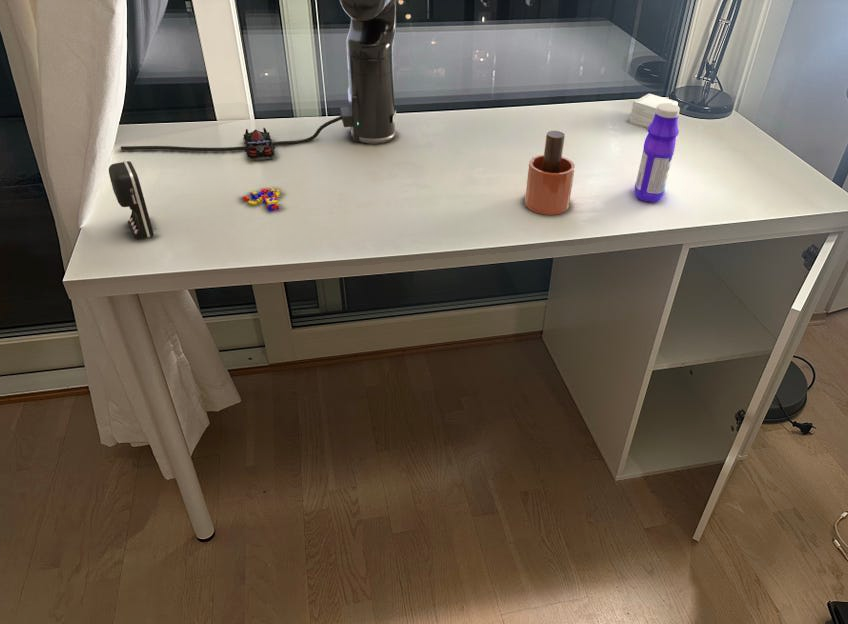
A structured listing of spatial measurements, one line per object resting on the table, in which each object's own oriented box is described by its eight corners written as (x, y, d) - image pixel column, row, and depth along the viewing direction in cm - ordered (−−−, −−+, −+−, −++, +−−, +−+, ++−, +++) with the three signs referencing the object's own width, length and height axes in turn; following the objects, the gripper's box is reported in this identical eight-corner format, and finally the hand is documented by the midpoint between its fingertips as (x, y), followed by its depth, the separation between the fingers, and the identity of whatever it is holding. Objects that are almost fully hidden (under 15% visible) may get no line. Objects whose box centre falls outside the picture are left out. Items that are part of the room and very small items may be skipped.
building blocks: (274, 188, 132) (273, 180, 131) (290, 206, 127) (289, 198, 126) (240, 195, 129) (239, 187, 128) (255, 214, 124) (254, 206, 123)
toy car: (246, 162, 140) (243, 142, 137) (241, 138, 149) (238, 119, 146) (277, 159, 142) (274, 140, 139) (271, 135, 150) (268, 117, 147)
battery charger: (123, 223, 120) (103, 160, 113) (146, 219, 122) (128, 156, 114) (131, 243, 116) (111, 178, 108) (155, 237, 117) (137, 174, 110)
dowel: (541, 206, 130) (550, 138, 122) (535, 197, 133) (544, 131, 124) (557, 204, 131) (567, 137, 123) (551, 196, 133) (561, 129, 125)
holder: (533, 216, 128) (538, 176, 123) (519, 195, 134) (523, 156, 129) (575, 213, 130) (581, 172, 125) (559, 192, 136) (564, 153, 131)
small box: (644, 113, 170) (649, 92, 167) (673, 123, 166) (679, 101, 163) (628, 122, 165) (632, 100, 162) (658, 132, 162) (663, 110, 158)
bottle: (663, 205, 134) (685, 115, 123) (632, 201, 134) (652, 111, 123) (662, 188, 139) (684, 101, 128) (633, 185, 140) (652, 97, 129)
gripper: (482, -94, 118) (476, 11, 128) (561, -93, 121) (550, 9, 131) (470, -101, 123) (466, 0, 134) (547, -100, 126) (537, -1, 137)
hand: (508, 4), depth 133 cm, fingers open, 8 cm apart
